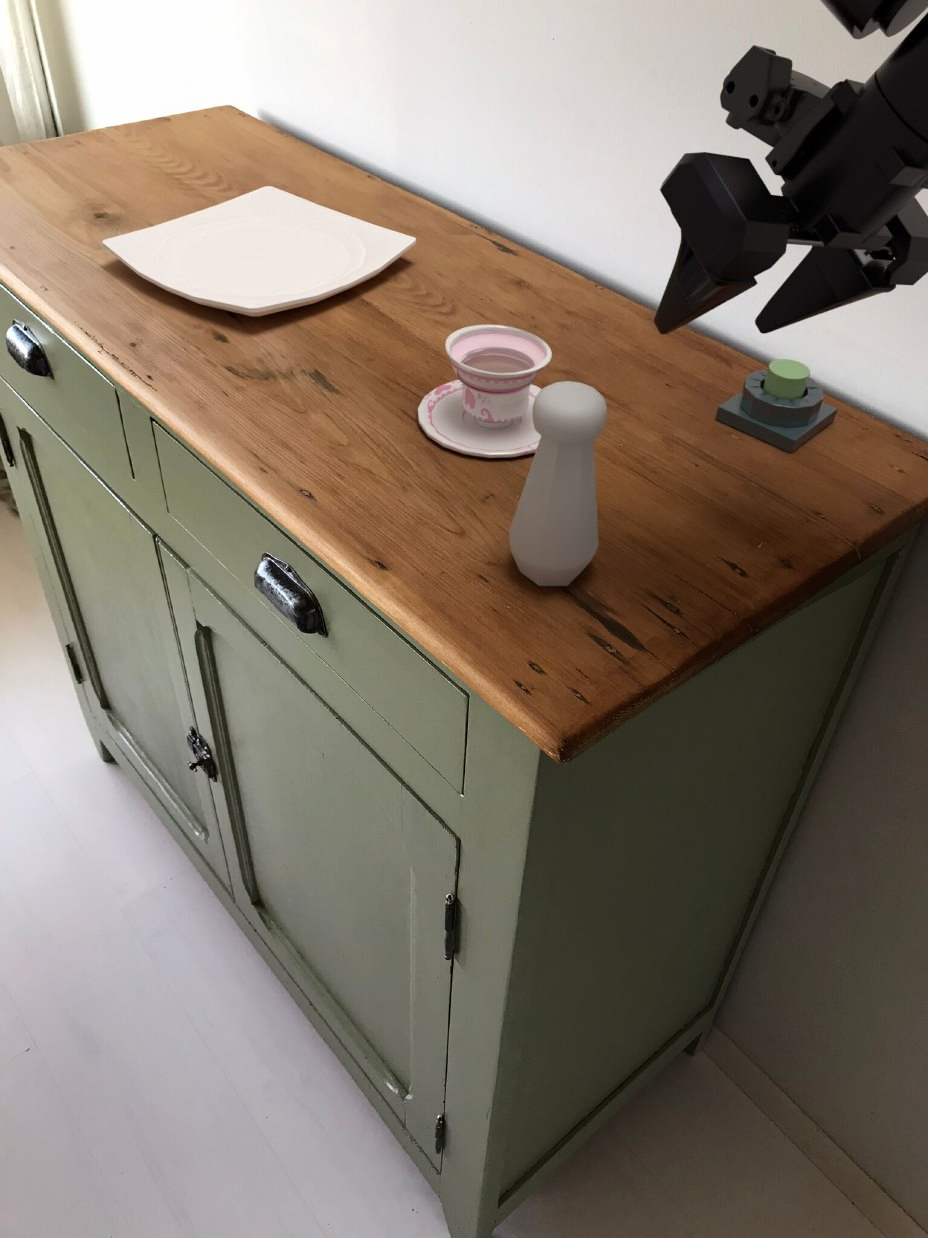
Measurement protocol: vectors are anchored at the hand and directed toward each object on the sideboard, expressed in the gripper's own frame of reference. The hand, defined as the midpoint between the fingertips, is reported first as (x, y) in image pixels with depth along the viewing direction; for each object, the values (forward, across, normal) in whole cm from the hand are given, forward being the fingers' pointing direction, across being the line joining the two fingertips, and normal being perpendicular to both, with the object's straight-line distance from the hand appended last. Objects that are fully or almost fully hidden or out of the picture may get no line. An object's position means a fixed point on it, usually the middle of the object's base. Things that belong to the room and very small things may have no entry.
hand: (711, 327), depth 58 cm
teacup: (+21, 0, -8) cm, 23 cm away
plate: (+38, +4, -40) cm, 56 cm away
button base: (+12, -19, 0) cm, 23 cm away
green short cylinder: (+9, -19, -2) cm, 21 cm away
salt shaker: (+15, +7, +8) cm, 18 cm away
